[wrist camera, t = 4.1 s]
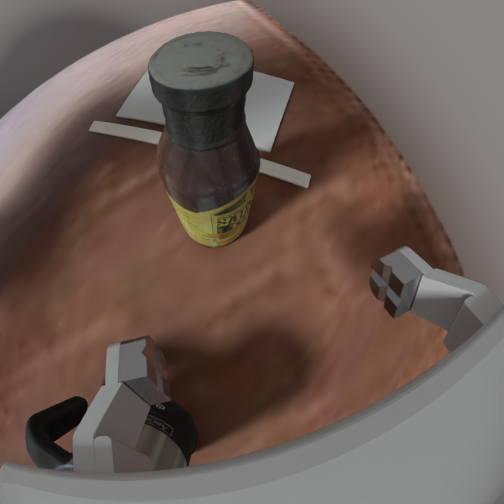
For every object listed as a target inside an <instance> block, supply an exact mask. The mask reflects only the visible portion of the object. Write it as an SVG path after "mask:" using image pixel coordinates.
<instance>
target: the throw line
mask: <svg viewBox="0 0 504 504" xmlns="http://www.w3.org/2000/svg"><path fill="white" fill-rule="evenodd" d="M89 132H95V133H101V134H106V135H112V136H117V137H122V138H127V139H132V140H137V141H142V142H147V143H151V144H156V145H158V143H159V139H160V137H161V134H162V132H158V131H153V130H148V129H143V128H138V127H132V126H127V125H121V124H115V123H108V122H102V121H94V122H93V124H92V125H91V127H90V129H89ZM259 173H262V174H265V175H268V176H271V177H274V178H277V179H280V180H283V181H286V182H289V183H292V184H295V185H298V186H301V187H304V188H306V189H307V188H308V185H309V181H310V178H311V175H309V174H306V173H304V172H301V171H298V170H295V169H292V168H289V167H286V166H283V165H280V164H277V163H274V162H271V161H268V160H265V159H262V158H260V169H259Z"/></svg>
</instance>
